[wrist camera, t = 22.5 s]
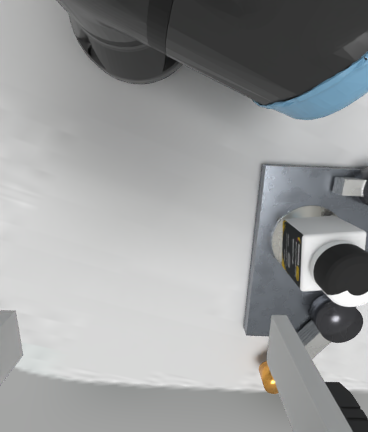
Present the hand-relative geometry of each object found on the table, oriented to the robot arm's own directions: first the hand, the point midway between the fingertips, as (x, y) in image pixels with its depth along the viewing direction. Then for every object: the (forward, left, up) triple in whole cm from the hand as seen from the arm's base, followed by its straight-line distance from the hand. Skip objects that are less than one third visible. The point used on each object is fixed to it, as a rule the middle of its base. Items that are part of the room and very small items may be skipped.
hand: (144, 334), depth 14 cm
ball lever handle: (+19, +21, -24) cm, 37 cm away
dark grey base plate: (+6, +20, -27) cm, 34 cm away
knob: (-5, +25, -25) cm, 35 cm away
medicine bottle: (+3, +19, -25) cm, 31 cm away
